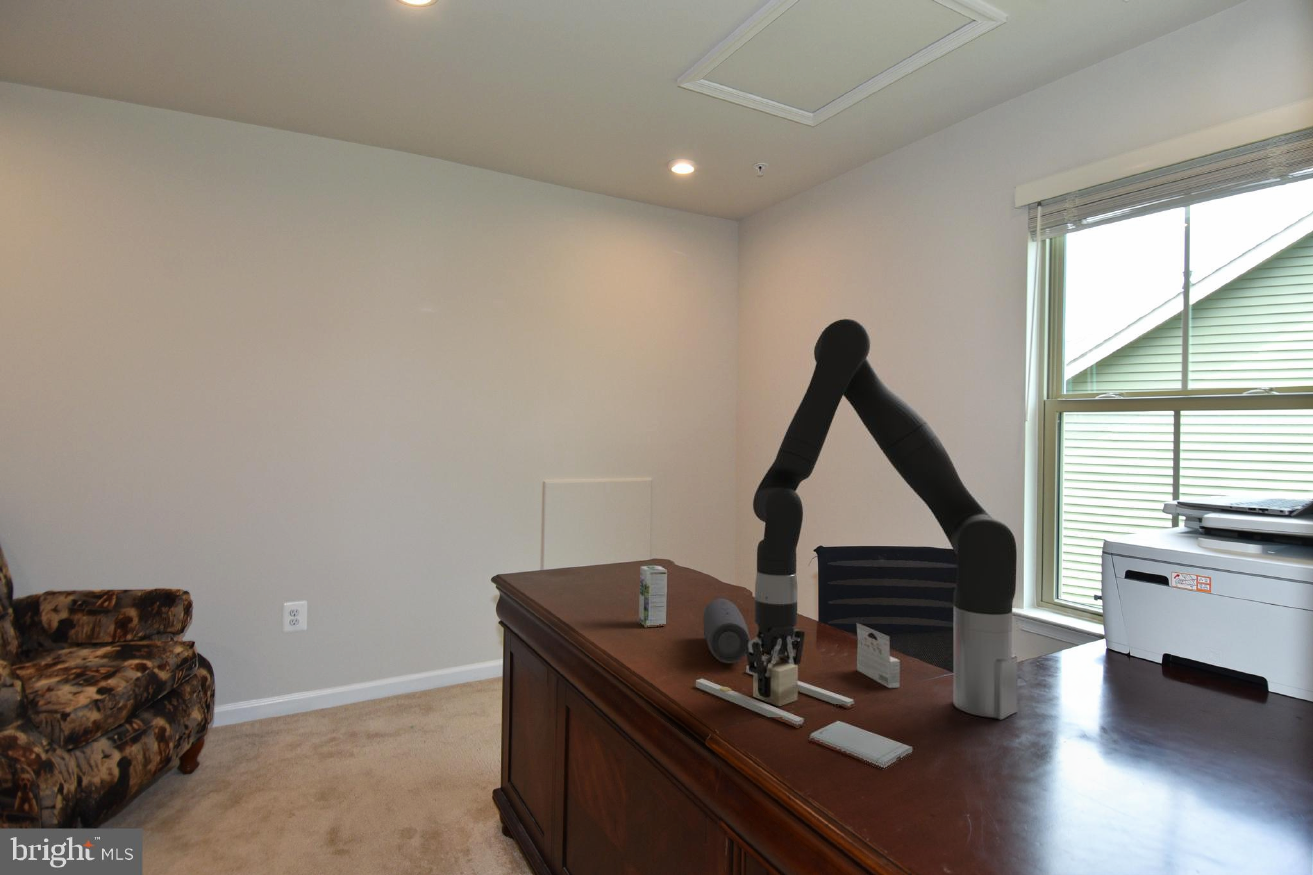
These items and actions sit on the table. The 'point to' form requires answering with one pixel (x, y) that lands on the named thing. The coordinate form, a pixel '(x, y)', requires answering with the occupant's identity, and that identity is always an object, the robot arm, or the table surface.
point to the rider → (780, 683)
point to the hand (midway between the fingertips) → (775, 692)
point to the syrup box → (652, 595)
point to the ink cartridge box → (877, 657)
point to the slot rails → (768, 709)
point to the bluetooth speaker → (725, 631)
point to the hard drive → (862, 743)
